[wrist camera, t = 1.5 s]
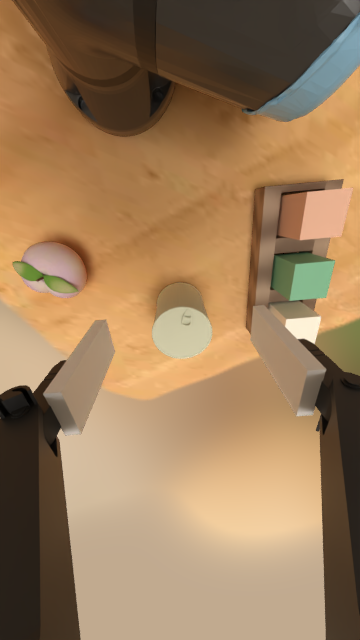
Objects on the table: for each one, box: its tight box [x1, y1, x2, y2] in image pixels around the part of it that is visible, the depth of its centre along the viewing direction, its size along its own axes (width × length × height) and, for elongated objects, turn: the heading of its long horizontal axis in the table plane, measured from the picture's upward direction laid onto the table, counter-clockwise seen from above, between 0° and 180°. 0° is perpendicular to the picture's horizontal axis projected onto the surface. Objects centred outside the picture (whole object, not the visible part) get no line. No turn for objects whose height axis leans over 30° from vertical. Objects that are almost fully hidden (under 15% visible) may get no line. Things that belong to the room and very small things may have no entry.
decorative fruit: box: [13, 242, 87, 298], centre depth 33 cm, size 9×8×10 cm
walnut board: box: [246, 179, 344, 334], centre depth 37 cm, size 25×11×4 cm, turn 5°
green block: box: [271, 252, 335, 301], centre depth 33 cm, size 5×5×7 cm
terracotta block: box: [276, 188, 353, 240], centre depth 29 cm, size 5×5×7 cm
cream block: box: [268, 300, 321, 344], centre depth 37 cm, size 5×5×7 cm
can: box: [152, 282, 212, 359], centre depth 37 cm, size 9×9×12 cm
